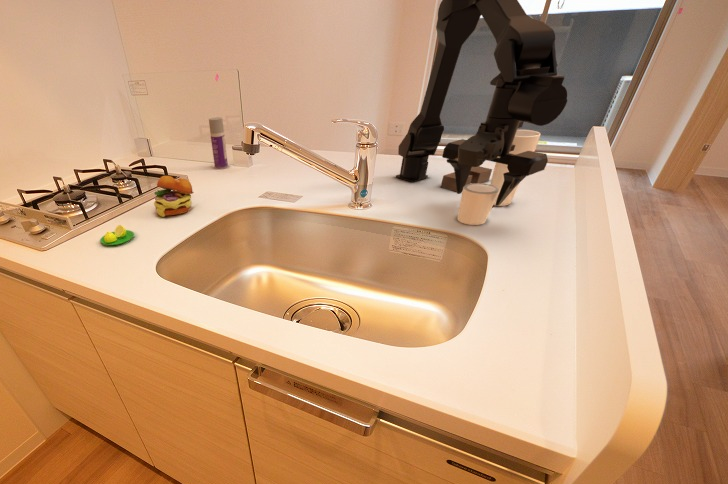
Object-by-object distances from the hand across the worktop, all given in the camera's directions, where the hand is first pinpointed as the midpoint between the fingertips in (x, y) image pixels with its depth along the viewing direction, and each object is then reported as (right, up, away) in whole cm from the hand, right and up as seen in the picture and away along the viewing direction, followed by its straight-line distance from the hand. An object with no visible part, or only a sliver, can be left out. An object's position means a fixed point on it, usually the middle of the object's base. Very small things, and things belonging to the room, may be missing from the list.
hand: (477, 199), depth 79 cm
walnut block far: (+12, +14, +22) cm, 28 cm away
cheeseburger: (-70, +5, +21) cm, 74 cm away
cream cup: (0, -4, +3) cm, 5 cm away
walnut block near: (+5, +11, +19) cm, 22 cm away
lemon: (-82, -7, +9) cm, 82 cm away
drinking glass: (+10, +2, +9) cm, 14 cm away
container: (-61, +31, +50) cm, 85 cm away
